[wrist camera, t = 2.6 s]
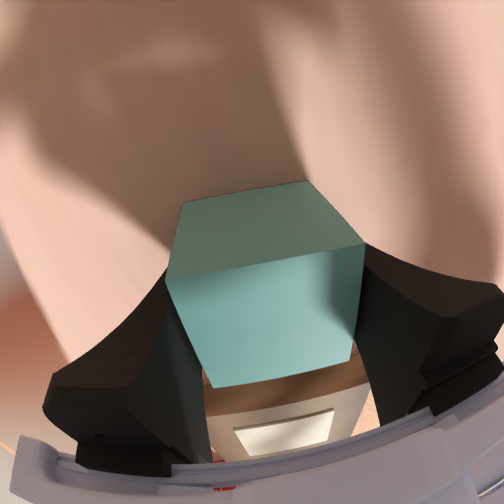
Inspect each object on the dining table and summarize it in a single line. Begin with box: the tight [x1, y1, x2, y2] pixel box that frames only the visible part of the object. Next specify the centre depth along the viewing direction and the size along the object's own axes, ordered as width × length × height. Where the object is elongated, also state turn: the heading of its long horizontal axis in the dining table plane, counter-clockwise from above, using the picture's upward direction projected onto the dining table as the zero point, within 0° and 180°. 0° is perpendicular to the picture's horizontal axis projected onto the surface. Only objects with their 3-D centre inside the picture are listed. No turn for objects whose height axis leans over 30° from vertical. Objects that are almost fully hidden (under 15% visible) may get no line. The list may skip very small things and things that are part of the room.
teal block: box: [165, 181, 365, 388], centre depth 10 cm, size 5×5×5 cm
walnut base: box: [203, 353, 371, 462], centre depth 20 cm, size 12×12×3 cm
